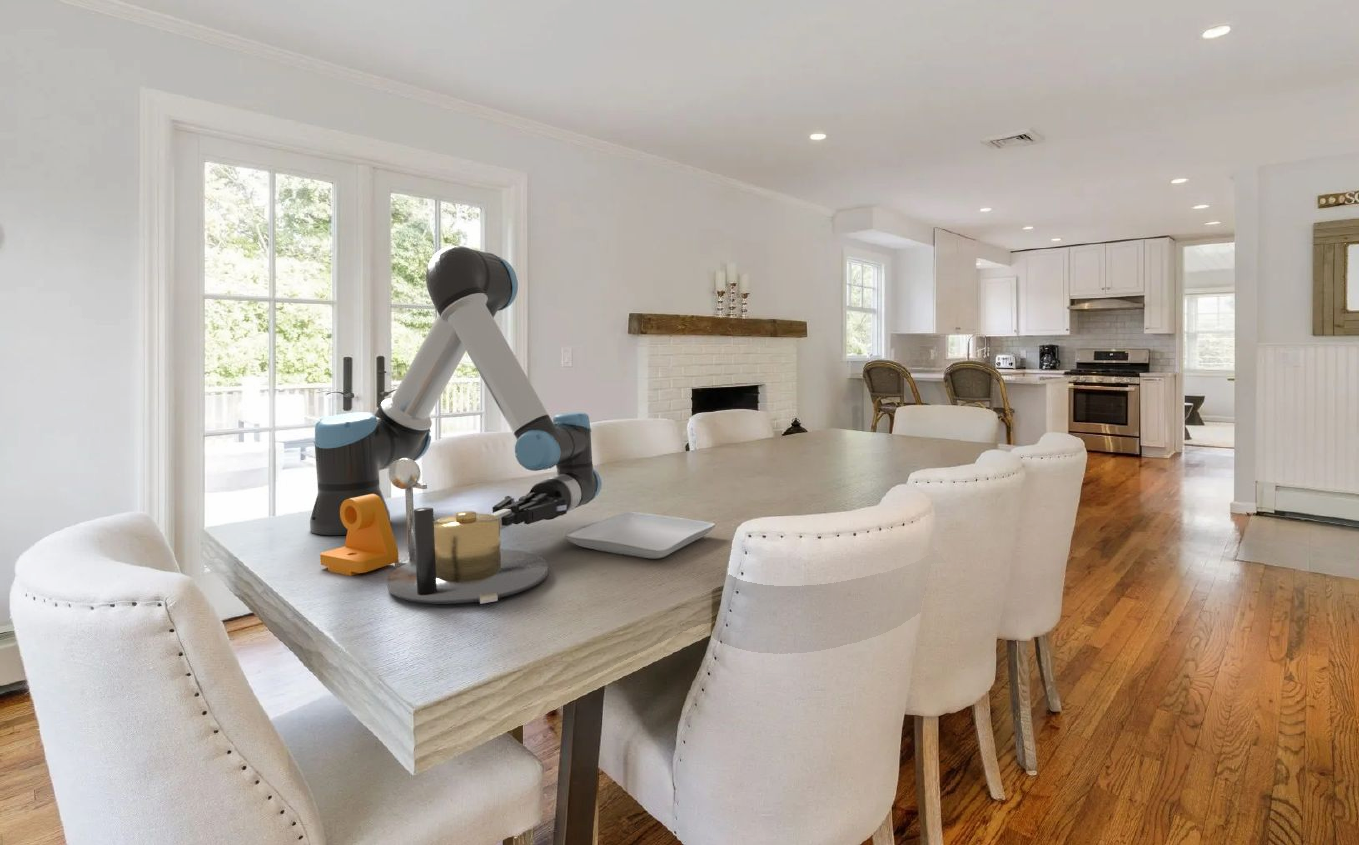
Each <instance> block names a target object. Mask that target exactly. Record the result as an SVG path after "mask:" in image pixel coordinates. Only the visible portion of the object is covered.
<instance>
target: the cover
mask: <svg viewBox="0 0 1359 845" xmlns="http://www.w3.org/2000/svg"><path fill="white" fill-rule="evenodd" d="M490 514H491V513H477V512H476V511H472V510H467V511H466V510H465V511H458V512H456V513H455V514H454V515H447V516H445V517H440V518H437V519H436V520H434V537H435V562H436V578H438V579H441V580H446V581H471V580H478V579H483V578H486V577H490V576H492V575H495V574H497V573H498V572H499V571H500V570H501V549H502V548H501V530H500V519H499V517H497V516H495V515H490Z"/></svg>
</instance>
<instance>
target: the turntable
mask: <svg viewBox="0 0 1359 845" xmlns="http://www.w3.org/2000/svg"><path fill="white" fill-rule="evenodd" d="M434 512H435V511H434V508H433V507H428V506H427V507H419V508H414V528H415V551H416V561H413V562H410V563H407V564H405V565H403V566H401V567H399V568H397V569H395V570H394V569H393V571H391V573H390V574H389V575H388V577H387V581H386V582H387V590H388V592H389V593H390V594H392V595H393V596H395V597H397V598H398V599H402V600H404V601H405V600H406V601H409V602H415V603H422V604H438V605H440V604H441V605H442V604H443V605H447V604H466V603H467V604H468V603H474V602H475V603H477V602H478V603H479V604H481V605H482V604H486V603H492V602H498V601H499V600H498V599H500V598H504V597H509V596H511V595H515V594H518V593H521V592H523V591H526V590H529V589H531V588H533V587H535V586H537V585H538V584H540V583H541V582H542V581H544V580H545V578H546V577H547V576H548V573H549V566H548V562H547V560H546V559H544V558H543V557H541V556H539V555H537V554H534V553H531V552H527V551H521V550H515V549H502V548H500V549H501V570H500V571H499V572H498V573H497V574H495V575H492V576H490V577H486V578H483V579H478V580H471V581H446V580H441V579H438V578H436V562H435V537H434V521H435V520H434V519H435V516H434V515H435V514H434Z"/></svg>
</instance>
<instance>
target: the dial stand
mask: <svg viewBox="0 0 1359 845" xmlns="http://www.w3.org/2000/svg"><path fill="white" fill-rule="evenodd" d="M387 474H388V478H389V480H390V482H391V484H392V485H393V486H394V487H396V488H398V489H401V490H404V495H405V515H406V516H405V518H406V539H407V542H406V543H407V556H404V557H403V558H401V559H399V561H397V562H395V563H394V569H395V570H396V569H397V568H399V567H401V566H403V565H405V564H407V563H410V562H413V561H416V551H415V528H414V509H415V507H414V488H416V489H421V490H427V489H428V484H427V483H421V482H420V478H421V469H420V466H419V464H418V463H417V461H413V460H412V459H409V458H402V459H399V460H396V461H394V462H393V463H392V464H391V466H390V468H388V473H387Z"/></svg>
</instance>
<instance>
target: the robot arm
mask: <svg viewBox="0 0 1359 845" xmlns="http://www.w3.org/2000/svg"><path fill="white" fill-rule="evenodd" d="M425 272H426V273H425V282H426V283H425V284H426V289H427V292H428V294H429V297H430V299H431V302H432V304H433V306H434V308H435V310H436V311H437V314H438V315H437V317H436V318H435V320H434V322H433V324H432V325H431V327H430V329H429V330H428V332H427V335H426V337H425V338H424V340H423V342H422V344H421V346H420V347H419V349H418V351H417V353H416V354H415V357H414V358H413V360H412V362H411V364H410V365H409V367H408V369H407V371H406V372H405V375H404V376H403V378H402V380H401V381H400V384H399V386H398V387H397V389H396V390H395V393H394V394H393V396H392V397H390V398H389V397H388V398H385V399H383V400H382V401H381V402H380V405H379V406H378V408H377V410H376V412H375V414H374V413H372V412H366V411H364V412H363V411H359V412H358V411H357V412H348V413H347V412H346V413H340V414H335V415H331V416H330V415H329V416H326V417H324V418H322V419H320V420H319V421H317V422H316V424H315V426H314V438H313V444H314V452H315V466H316V467H315V468H316V480H317V482H316V484H317V495H316V498H315V502H314V505H313V509H312V513H311V515H310V516H311V517H309V518H310V519H309V528H310V529H309V531H310V532H311V533H313V534H315V535H319V536H321V535H322V536H345V535H346V536H347V531H348V529H347V528H346V527H345V526H344V525H343V523H342V521H341V518H340V507H341V504H342V502H343V501H344V500H346V499H350V498H355V497H360V496H364V495H369V494H376V495H378V496H379V497H380V498H381V499H382V501H383V503H384V506H385V509H386V513H387V516H388V519H389V522H390V523H391V513H390V510H389V508H388V506H387V505H388V504H387V501H386V500H385V497H384V495H383V492H382V490H381V487H380V486H381V485H380V471H382V470H387V469H388V470H389V468H390V466H391V464H392V463H393V462H394V461H396V460H399V459H402V458H409V459H412V460H413V461H415V462H417V461H418V460H420V459H422V457H423V456H424V455H425V454H426V453H427V451H428V450H429V447H430V445H431V441H432V436H431V435H430V433H431V427H432V426H433V422H432V419H431V418H430V417H431V416H430V415H431V413H432V412H433V409H434V408H435V406H436V405H437V403H438V401H439V399H440V397H441V396H442V394H443V393H444V390H445V388H446V387H447V385H448V383H449V381H450V380H451V378H452V376H453V374H454V373H455V371H456V369H457V367H458V366H459V364H460V362H461V361H462V359H463V357H464V355H465V353H467V354H468V356H469V358H470V359H471V361H472V363H473V365H474V367H475V368H476V371H477V372H478V374H479V375H480V377H481V379H482V381H483V382H484V385H485V386H486V388H487V390H488V391H489V393H490V394H491V397H492V398H493V400H494V402H495V403H496V405H497V407H498V408H499V411H500V413H501V414H502V416H503V417H504V419H505V421H506V423H507V425H508V426H509V428H510V430H511V431H512V433H513V436H514V437H515V439H516V442H515V444H514V455H515V458H516V461H517V463H518V464H519V465H520V466H522V468H524V469H526V470H528V471H532V472H533V471H534V472H536V471H543V470H546V471H547V470H548V469H552V468H554V467H555V466H556V475H555V476H551V477H549V478H546V479H545V480H542V481H538V482H536V483H535V484H534V485H532V487H531V489H529V492H528V493H526V494H525V495H522V496H520V497H519V498H518V499H515V497H512V496H510V495H506V496H504V499H503V500H501V501H499V502H498V503H496V504H495V505H494V506H492V513H489V514H490V515H495V516H497V517H499V519H500V531H501V530H503V529H506V528H507V527H510V526H512V525H519V524H522V523H523V524H525V525H529V524H533V523H537V522H539V521H543V520H544V521H550V520H555V519H556V518H558V517H562V516H564V515H567V513H568V512H570V511H573V510H574V509H576V508H578V507H581V506H584V505H587V504H589V503H590V502H591V501H593V500H594V499H595V498H596V497H598V495H599V494H600V492H601V490H602V483H603V482H602V479H601V476H600V475H599V472H597V470H596V469H594V465H593V453H592V452H593V451H592V434H591V433H592V428H591V422H590V416H589V415H588V413H586V412H567V413H566V412H565V413H559V414H555V415H554V416H553V419H551V417H550V416H549V413H548V412H547V410H546V408H545V406H544V404H543V403H542V401H541V399H540V398H539V396H538V394H537V392H536V391H535V389H534V387H533V385H532V383H531V381H530V380H529V378H528V377H527V375H526V373H525V371H524V369H523V368H522V366H521V364H520V363H519V360H518V359H517V357H516V355H515V353H514V352H513V350H512V348H511V347H510V344H509V343H508V341H507V339H506V337H505V336H504V335H503V332H502V331H501V329H500V327H499V326H498V325H499V324H497V322H496V320H495V319H494V318H495V316H496V314H497V312H501V311H502V310H505V309H506V308H508V307H510V306H511V305H512V304H513V303H514V301H515V299H516V297H517V294H518V289H519V288H518V287H519V282H518V278H517V274H516V272H515V269H514V267H513V266H512V265H511V264H510V263H509V262H508V261H507V260H506V259H504V258H502V257H500V256H498V255H496V254H494V253H491V252H485V251H480V250H477V249H472V248H470V247H466V246H463V245H462V246H461V245H452V246H447V247H445V248H442V249H440V250H439V251H437V252H436V253H434V255H433V256H432V257H431V259H430V261H429V262H428V264H427V268H426V271H425Z"/></svg>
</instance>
